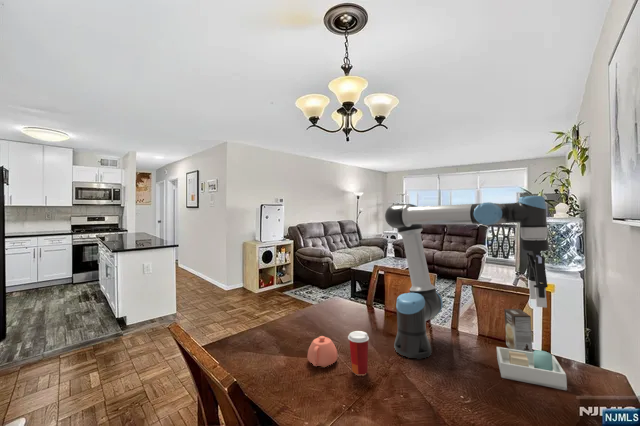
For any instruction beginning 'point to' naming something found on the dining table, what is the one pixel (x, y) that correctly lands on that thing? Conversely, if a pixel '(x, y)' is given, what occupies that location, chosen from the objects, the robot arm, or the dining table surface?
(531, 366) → the tray
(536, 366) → the teal cylinder
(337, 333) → the dining table surface
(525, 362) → the beech cube
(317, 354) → the sugar bowl
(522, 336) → the coffee box
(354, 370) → the paper cup
